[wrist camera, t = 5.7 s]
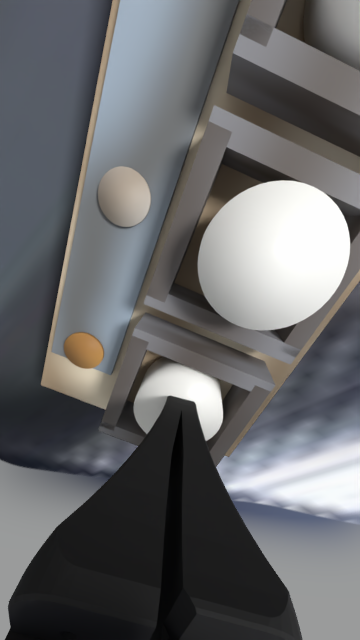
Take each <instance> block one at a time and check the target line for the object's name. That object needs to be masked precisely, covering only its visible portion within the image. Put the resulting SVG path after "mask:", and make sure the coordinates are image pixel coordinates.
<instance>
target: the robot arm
mask: <svg viewBox="0 0 360 640" xmlns="http://www.w3.org/2000/svg"><path fill="white" fill-rule="evenodd" d="M8 611H9V619H10V625H11V628H10V630H9V632H8V635H7V636H6V639H5V640H302V636H301V632H300V627H299V624H298V620H297V617H296V613H295V610H294V607H293V604H292V601H291V598H290V595H289V591H288V590H287V588H286V587H285V585H284V584H283V582H282V581H281V580H280V578H279V577H278V575H277V574H276V572H275V571H274V569H273V568H272V567H271V565H270V564H269V562H268V561H267V559H266V558H265V556H264V555H263V553H262V551H261V550H260V548H259V547H258V545H257V543H256V542H255V540H254V539H253V537H252V535H251V534H250V532H249V530H248V529H247V527H246V525H245V523H244V522H243V520H242V518H241V516H240V515H239V513H238V511H237V509H236V508H235V506H234V504H233V502H232V500H231V498H230V496H229V494H228V492H227V490H226V488H225V486H224V484H223V482H222V480H221V478H220V476H219V473H218V471H217V469H216V466H215V464H214V461H213V459H212V456H211V454H210V451H209V448H208V446H207V443H206V440H205V437H204V434H203V431H202V427H201V424H200V420H199V416H198V412H197V407H196V404H195V402H193V401H190V400H186V399H182V398H178V397H174V396H171V395H170V396H168V397H167V400H166V403H165V405H164V407H163V409H162V411H161V413H160V415H159V417H158V418H157V420H156V422H155V423H154V425H153V426H152V428H151V429H150V431H149V432H148V434H147V435H146V436H145V438H144V439H143V441H142V442H141V443H140V445H139V446H138V447H137V448H136V450H135V451H134V452H133V453H132V455H131V456H130V457H129V458H128V459H127V460H126V462H125V463H124V464H123V465H122V466H121V467H120V468H119V469H118V470H117V471H116V473H115V474H114V475H113V476H112V477H111V478H110V479H109V480H108V481H107V482H106V483H105V484H104V485H103V486H102V487H101V488H100V489H99V490H98V491H97V492H96V493H95V494H94V495H92V496H91V497H90V498H89V499H88V500H87V501H86V502H85V503H84V504H83V505H82V506H81V507H79V508H78V509H77V510H76V511H75V512H74V513H72V514H71V515H70V516H69V517H68V518H67V519H65V520H64V521H63V522H62V523H61V524H60V525H59V526H58V527H56V529H55V530H54V531H53V533H52V534H51V535H50V536H49V538H48V539H47V540H46V542H45V543H44V544H43V545H42V547H41V548H40V550H39V551H38V552H37V554H36V555H35V557H34V558H33V560H32V561H31V563H30V564H29V566H28V567H27V569H26V571H25V572H24V574H23V576H22V578H21V580H20V582H19V584H18V586H17V588H16V589H15V591H14V593H13V595H12V597H11V599H10V601H9V605H8Z"/></svg>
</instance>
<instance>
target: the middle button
mask: <svg viewBox="0 0 360 640" xmlns="http://www.w3.org/2000/svg"><path fill="white" fill-rule="evenodd" d="M349 255H350V237H349V231H348V227H347V223H346V221H345V218H344V216H343V214H342V212H341V211H340V209H339V208H338V206H337V205H336V204H335V203H334V201H333V200H332V199H331V198H330V197H328V196H327V195H326V194H325V193H324V192H322V191H320V190H319V189H317V188H315V187H313V186H310V185H308V184H305V183H301V182H296V181H284V180H281V181H271V182H267V183H263V184H259V185H256V186H254V187H251V188H249V189H247V190H245V191H243V192H242V193H240V194H238V195H237V196H235V197H234V198H233V199H231V200H230V201H229V202H228V203H227V204H226V205H224V206H223V207H222V208H221V209H220V211H219V212H218V213H217V214H216V215H215V217H214V218H213V219H212V220H211V222H210V223H209V225H208V227H207V229H206V231H205V233H204V235H203V238H202V241H201V245H200V249H199V254H198V276H199V282H200V285H201V288H202V291H203V293H204V295H205V297H206V299H207V301H208V302H209V304H210V305H211V306H212V307H213V309H214V310H215V311H216V312H217V313H218V314H219V315H221V316H222V317H223V318H225V319H226V320H228V321H229V322H231V323H233V324H235V325H238V326H240V327H243V328H247V329H252V330H275V329H281V328H285V327H288V326H291V325H294V324H296V323H298V322H300V321H302V320H304V319H306V318H308V317H309V316H311V315H312V314H314V313H315V312H316V311H317V310H319V309H320V308H321V307H322V306H323V305H324V304H325V303H326V302H327V301H328V300H329V299H330V298H331V296H332V295H333V294H334V293H335V291H336V289H337V288H338V286H339V285H340V283H341V281H342V278H343V276H344V274H345V271H346V268H347V265H348V260H349Z"/></svg>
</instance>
